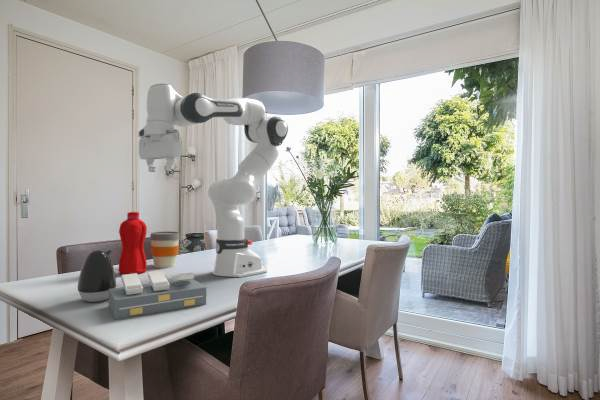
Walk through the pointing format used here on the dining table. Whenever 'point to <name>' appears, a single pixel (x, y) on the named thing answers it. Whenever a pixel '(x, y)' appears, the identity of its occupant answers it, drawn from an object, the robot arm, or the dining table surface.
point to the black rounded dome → (96, 277)
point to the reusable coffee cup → (164, 248)
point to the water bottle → (132, 245)
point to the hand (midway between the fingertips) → (159, 171)
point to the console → (156, 299)
